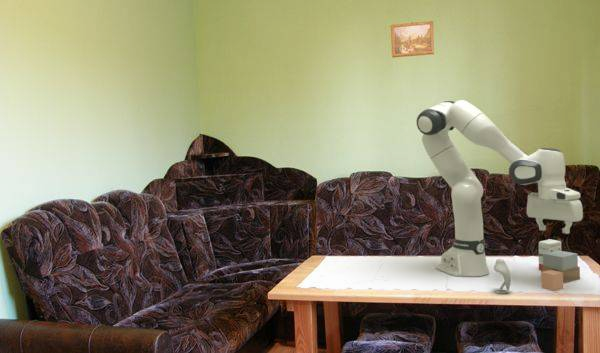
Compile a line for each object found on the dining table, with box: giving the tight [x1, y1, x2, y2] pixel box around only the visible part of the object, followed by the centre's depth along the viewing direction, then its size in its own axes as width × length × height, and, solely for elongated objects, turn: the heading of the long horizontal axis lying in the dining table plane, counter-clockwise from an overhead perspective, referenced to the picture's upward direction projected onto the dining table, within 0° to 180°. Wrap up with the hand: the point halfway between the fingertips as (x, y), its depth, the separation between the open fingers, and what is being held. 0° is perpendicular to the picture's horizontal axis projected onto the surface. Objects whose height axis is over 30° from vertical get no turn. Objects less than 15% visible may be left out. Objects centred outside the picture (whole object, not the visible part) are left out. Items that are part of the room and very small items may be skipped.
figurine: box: [493, 258, 512, 294], centre depth 172 cm, size 8×5×12 cm
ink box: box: [538, 238, 562, 271], centre depth 199 cm, size 8×5×12 cm, turn 120°
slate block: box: [543, 250, 579, 271], centre depth 185 cm, size 8×9×5 cm
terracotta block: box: [540, 270, 564, 292], centre depth 174 cm, size 5×5×6 cm
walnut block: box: [540, 266, 581, 285], centre depth 185 cm, size 9×10×5 cm
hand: (554, 231), depth 173 cm, fingers open, 8 cm apart
